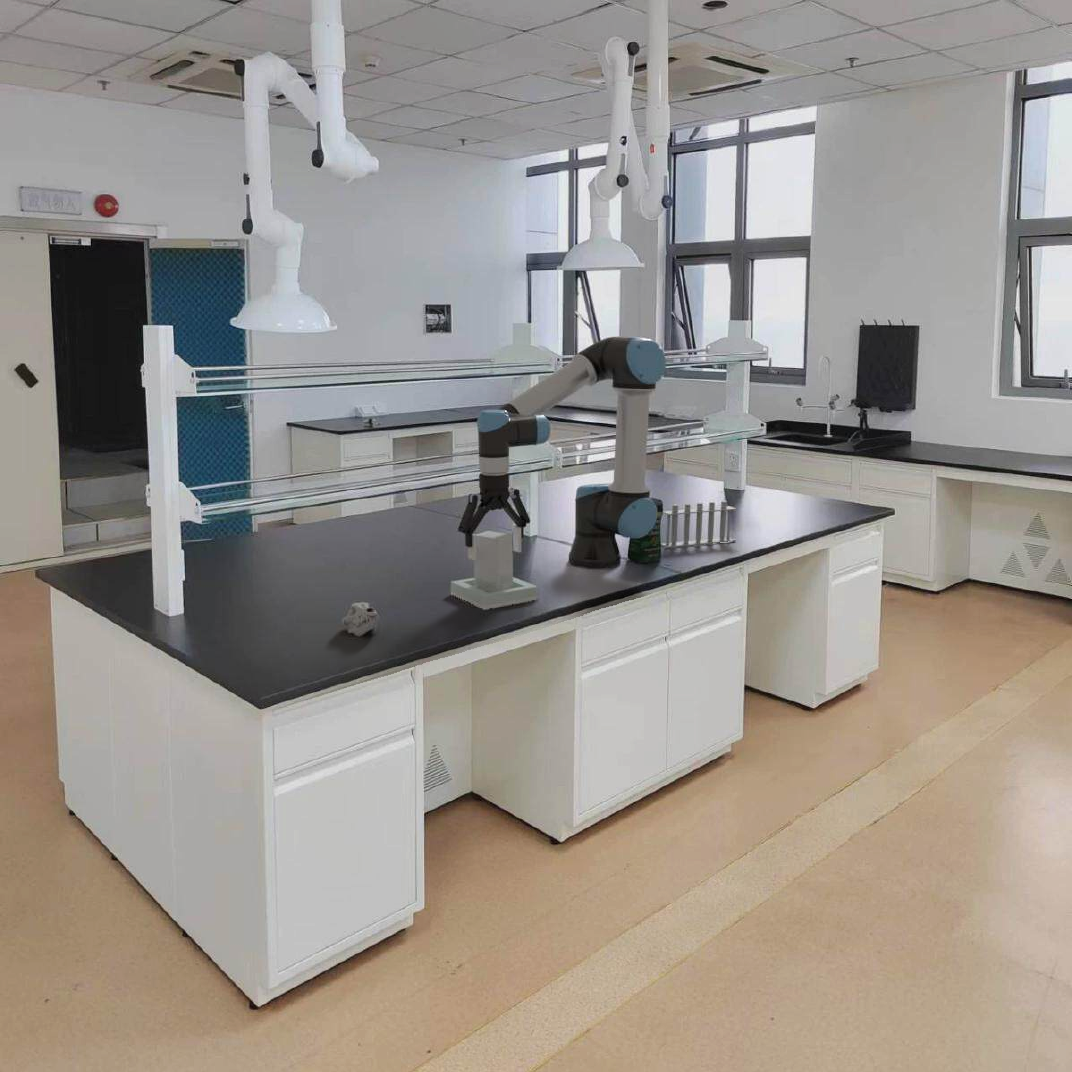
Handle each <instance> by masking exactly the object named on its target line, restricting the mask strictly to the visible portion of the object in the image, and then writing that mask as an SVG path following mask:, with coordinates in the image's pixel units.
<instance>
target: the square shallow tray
mask: <svg viewBox="0 0 1072 1072" xmlns="http://www.w3.org/2000/svg"><path fill="white" fill-rule="evenodd" d="M538 588H539V587H538V585H535V584H532V583H529V582H528V581H524V580H522V579H520V578H516V577H514V576H513V588H512V589H507V590H501V591H496V592H490V593H488V592H485V591H483V590H481V589H478V588H476V587H475V581H474V577H470V578H463V579H458V580H451V581H450V595H451V596H453V595H454V596H453V597H455V596H456V597H455V598H457V597H458V599H459V598H460V600H461V599H462V601H464V600H465V601H464V602H466V601H468V602H470V603H471V604H470V603H469V604H470V605H472V604H473V606H475V607H477V608H479V609H481V608H482V609H481V610H490V608H492V609H496V608H497V609H498V608H501V607H507V606H512V604H513V605H518V604H523V603H529V602H533V601H532V600H534V601H537V600H538V590H539V589H538ZM528 601H529V602H528ZM468 602H467V603H468Z"/></svg>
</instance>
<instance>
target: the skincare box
mask: <svg viewBox="0 0 1072 1072" xmlns="http://www.w3.org/2000/svg"><path fill="white" fill-rule="evenodd" d="M475 535H476V560H473V570H474V571H473V575H474V576H473V578H474V581H475V587H476V588H478V589H481V590H483V591H485V592H488V593H490V592H496V591H501V590H507V589H512V588H513V577H514V563H513V562H514V560H513V557H514V556H513V533H512V534H510V533H505V532H498V531H491V530H486V531H483V532H481V533H477V534H475Z"/></svg>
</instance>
